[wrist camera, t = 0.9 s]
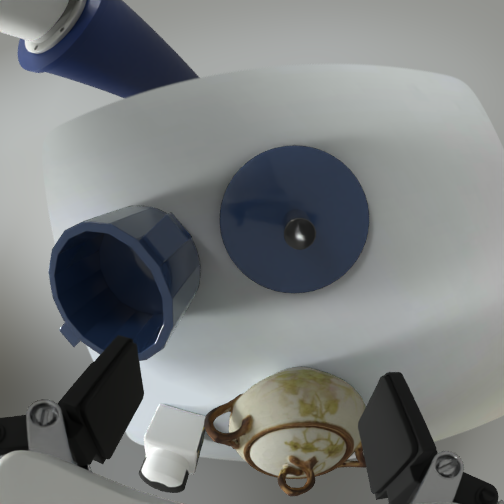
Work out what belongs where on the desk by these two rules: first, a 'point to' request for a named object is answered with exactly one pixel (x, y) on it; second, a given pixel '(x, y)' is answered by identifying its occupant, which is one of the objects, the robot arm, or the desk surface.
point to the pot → (124, 278)
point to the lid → (294, 219)
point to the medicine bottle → (172, 448)
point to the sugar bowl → (294, 426)
